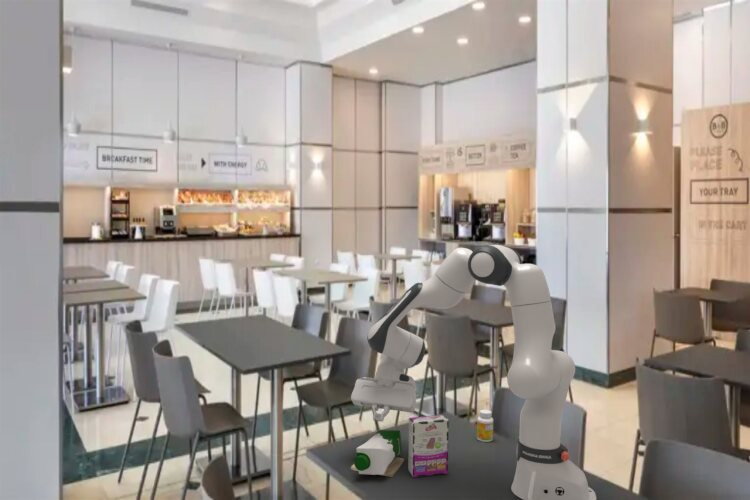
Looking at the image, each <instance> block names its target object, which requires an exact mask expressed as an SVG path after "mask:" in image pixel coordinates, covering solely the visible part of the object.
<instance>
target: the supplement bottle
mask: <svg viewBox="0 0 750 500" xmlns="http://www.w3.org/2000/svg"><path fill="white" fill-rule="evenodd" d="M492 413H493V412H492V411H491V410H490V409H481V410H479V416H478V417H477V423H476V424H477V426H476V439H477V440H478V441H480V442H483V443H487V442H488V443H489V442H492V441H493V440H494V439H493V438H494V434H493V433H494V418H493V417H492V416H493V415H492Z"/></svg>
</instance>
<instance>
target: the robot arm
mask: <svg viewBox="0 0 750 500" xmlns="http://www.w3.org/2000/svg"><path fill="white" fill-rule="evenodd" d="M476 281H477V282H479V283H483V284H485V285H492V286H498V287H502V286H503V287H505V289H506V290H507V294H508V297H509V302H510V309H511V316H512V323H513V332H514V333H513V334H514V344H513V345H514V346H513V357H512V361H511V365H510V367H509V369H508V372H507V375H506V379H507V380H506V381H507V385H508V387H509V389H510V391H511V392H512V393H513V394H514V395H515V396H516V397H518V398H520V399H525V402H524V404H523V406H522V408H521V410H520V413H519V414H520V415H519V433H518V435H519V437H518V439H517V443H516V469H515V474H514V478H513V482H512V484H511V487H510V489H511V492H512V493H513V495H515V496H516V497H518V498H520V499H522V500H597V494H596V492H595V490H593V488H591V487H590V486H589V484H588V479H587V477H586V475H585V472H584V471H583V470H582V469H581V468H580V467H579V466H577V465H576V464H575V463H573V462H572V461H571V460H570V454H569V450H568V446H567V444H565V445H564V444H562V443H561V438H562V437H561V434H562V419H563V413H564V408H565V405H566V400H567V397H568V392H569V388H570V385H571V383H572V380H573V379H574V376H575V373H576V365H575V361H574V360H573V358H572V356H570V355H569V354H568V353H566V352H565V351H561V350H558V349H557V350H556V349H552V348H553V347H552V344H553V338H554V335H555V333H556V321H555V317H554V310H553V306H552V305H553V304H552V298H551V293H550V288H549V285H548V282H547V279H546V275H545V274H544V271H543V269H542V268H541V267H540V266H538V265H536V264H534V263H523V259H522V257H521V255H520V253H519V252H518V251H517V250H516V249H514V248H512V247H509V246H506V245H501V244H489V245H488V244H487V245H481V246H479V247H477V248H475V249H474V250H473V251H472V249H469V248H466V247H457V248H455V249H453V250H452V252H450V254H449V255H448V256H446V258H445V259H444V260H443V261H442V262H441V264H440V265H439V267H437V269H436V271H435V272H434V273H433V274H432V276H430V277H429V278H428V279H426V280H425V281H422V282H417V283H414V284H413V285H412V286H411V287H410V288H408V290H406V292H405V293H403V294H402V296H400V298H399V299H398V300H396V302H395V303H394V304H393V305H392V306H391V308H389V309H388V310H387V312H386V313H385V314H384V315H383V316H382V317H381V318H379V319H377V321H375V323H374V324H373V325H372V326H371V328H370V329H369V331H368V334H367V337H366V338H367V343H368V346H369V347H370V349H371V351H372V352H375V353H378V354H380V362H379V364H378V366H377V369H376V371H375V375H374V377H366V376H362V377H360V378H358V379H356V381H355V383H354V388H353V390H352V393H351V395H350V400H351V402H352V403H353V405H354V406H360V407H366V408H367V407H369V408H372V412H373V416H372V420H373V421H374V422H381V423H382V422H384V419H385V417H386V416H388V414H389V413H390V411H396V412H397V411H398V412H404V413H405V412H406V413H413V412H414V411H415V410H416V406H417V394H416V391H417V385H416V382H415V380H414V378H413V376H410V375H408V374H406V373H405V370H406V369H411V368H412V367H415V366H418V365H420V364H421V363H422V362H423V360H424V357H425V354H426V350H427V349H426V344H425V340H424V339H423V338H422V337H420V336H418V335H417V334H414V333H413V332H410V331H408V330H406V329H403V328H401V327H399V326H397V325H398V324H399V323H400V322H401V321H402V320H403V319H404V317H406V316H407V314H408V313H409V312H410V311H411V310H414V309H417V308H431V309H437V310H438V309H439V310H447V309H451V308H453V307H455V306H457V305H458V304H459V303H461V301H462V300H463V298H464V297H465V296H466V294H467V293H468V291H469V290H470V288H471V286H472V285H473V284H474V283H475V282H476ZM379 409H381V410H382V409H383V411H382V412H381V413H377V411H378V410H379Z"/></svg>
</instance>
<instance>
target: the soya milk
mask: <svg viewBox="0 0 750 500" xmlns="http://www.w3.org/2000/svg"><path fill="white" fill-rule="evenodd" d="M355 449H356V458H355V459H354V461H353V464H354V465H355V467H356V469H358V470H359V471H358V474H359V475H371V476H372V475H373V476H376V475H379V476H384V473H385V471H386V469H387V467H388V465H389V464H390V463H391V462H392V461H393V460H394V458H395V457H397V458H398V456H400V454H403V446H402V437H401V430H399V429H379V430H378V431H377V432H376V433H375V434H374V435H373V436H372V437H370V438H369V439H368V440H367V441H366V442H365V443H363V444H361V445H359V446H358V447H356V448H355Z"/></svg>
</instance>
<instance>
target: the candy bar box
mask: <svg viewBox="0 0 750 500" xmlns="http://www.w3.org/2000/svg"><path fill="white" fill-rule="evenodd" d="M407 458H408V460H407V461H408V466H407V467H408V469H407V470H408V472H409V473H410V475H411V476H412V477H413V478H420V477H429V476H436V475H439V476H440V475H446V474H447V475H448V473H449V418H447V417H446V416H445V415H444V414H439V415H438V414H437V415H427V416H415V417H408V457H407Z"/></svg>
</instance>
